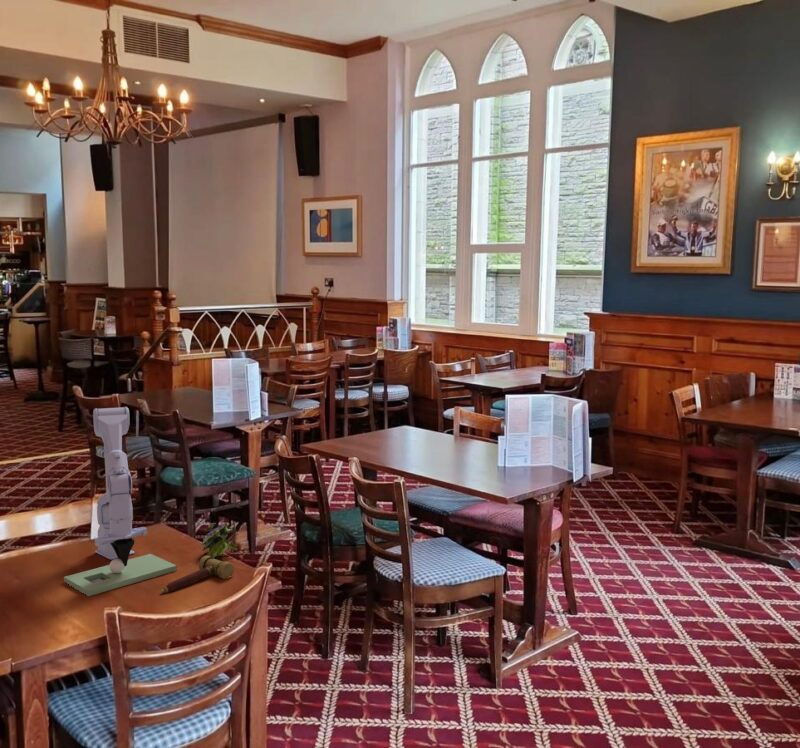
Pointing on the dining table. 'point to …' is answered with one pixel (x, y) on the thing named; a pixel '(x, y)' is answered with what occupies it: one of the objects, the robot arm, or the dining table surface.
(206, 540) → the passion flower
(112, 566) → the ball
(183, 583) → the gavel
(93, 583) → the putting mat
